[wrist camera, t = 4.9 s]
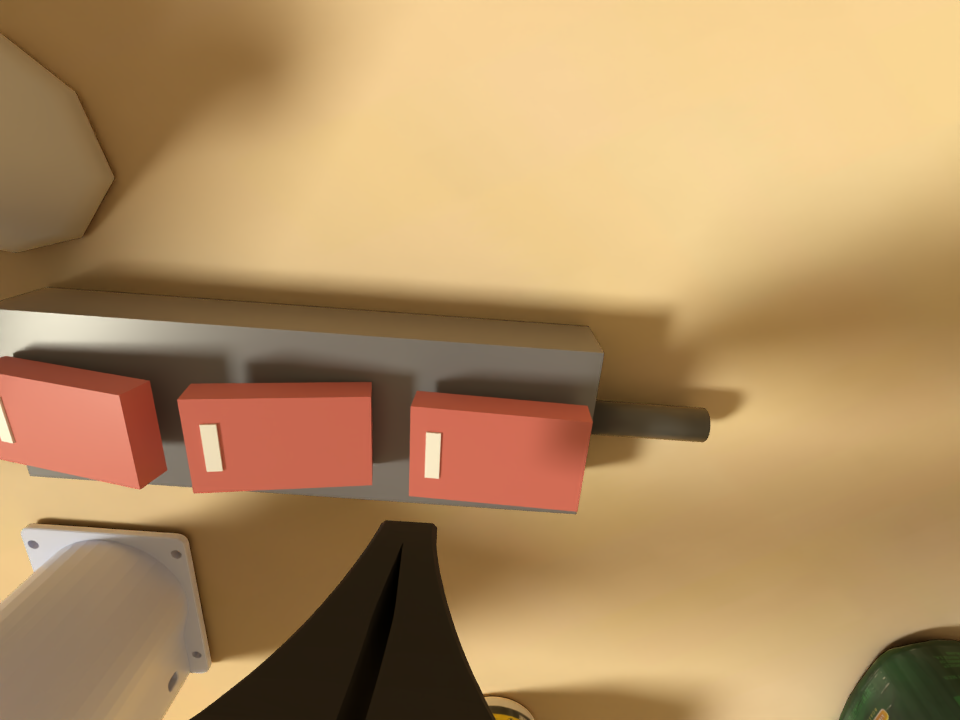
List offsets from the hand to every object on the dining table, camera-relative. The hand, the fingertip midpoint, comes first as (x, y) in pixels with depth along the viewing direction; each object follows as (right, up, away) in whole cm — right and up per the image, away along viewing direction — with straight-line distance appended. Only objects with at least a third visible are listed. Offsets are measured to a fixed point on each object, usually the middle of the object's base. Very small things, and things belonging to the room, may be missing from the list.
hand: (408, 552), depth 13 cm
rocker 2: (-5, +2, +5) cm, 7 cm away
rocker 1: (-13, +3, +5) cm, 14 cm away
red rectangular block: (+2, +2, +5) cm, 6 cm away
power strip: (-2, +4, +9) cm, 10 cm away
